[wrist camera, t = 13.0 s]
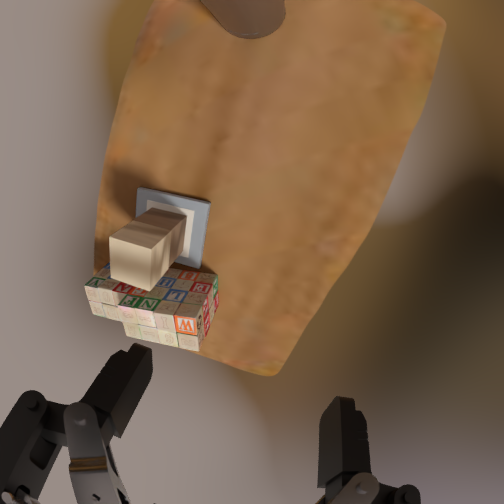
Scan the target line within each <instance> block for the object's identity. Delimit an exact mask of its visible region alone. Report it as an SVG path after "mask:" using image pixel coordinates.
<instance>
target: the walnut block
mask: <svg viewBox="0 0 504 504" xmlns="http://www.w3.org/2000/svg"><path fill="white" fill-rule="evenodd" d="M134 221H138V222H142V223H145V224H149V225H153V226H157V227H161V228H165V229H168V230H172V232H171V243H170V254H169V267H170V266H171V265H172V263H173V262H174V261H175V260H176V259H177V257H178V256H179V255H180V254H181V253H182V251H183V247H184V238H185V229H186V221H187V216H186V215H182V214H178V213H174V212H170V211H165V210H161V209H157V208H153V207H152V208H150V209H149V210H147V211H146V212H144V213H143V214H141V215H140V216H138V217H137V218H135V219H134ZM169 267H168V268H169Z"/></svg>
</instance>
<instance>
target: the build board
mask: <svg viewBox="0 0 504 504" xmlns="http://www.w3.org/2000/svg"><path fill="white" fill-rule="evenodd" d="M210 204H211V202H206V201H202V200H198V199H193V198H189V197H185V196H180V195H176V194H171V193H167V192H162V191H157V190H153V189H148V188H143V187H139V188H137V201H136V218H137V217H138V216H140V215H141V214H143V213H144V212H146V211H147V210H149V209H150V208H152V207H153V208H157V209H161V210H165V211H170V212H174V213H178V214H182V215H186V216H187V221H186V229H185V238H184V247H183V251H182V253H181V254H180V255H179V256H178V257H177V259H176V260H175V261H174V262H176V263H180V264H183V265H187V266H190V267H194V268H198V269H199V268H200V267H201V262H202V255H203V248H204V241H205V235H206V228H207V222H208V216H209V210H210Z"/></svg>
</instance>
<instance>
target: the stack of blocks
mask: <svg viewBox="0 0 504 504" xmlns="http://www.w3.org/2000/svg"><path fill="white" fill-rule="evenodd" d="M84 286H85V290H86V293H87V297H88V300H89V302H90V306H91V309H92V312H93V314H94V315H98V316H102V317H106V318H109V319H113V320H118V321H121V322H123V325H124V328H125V332H126V335H127V336H129V337H133V338H138V339H143V340H147V341H152V342H156V343H161V344H165V345H170V346H175V347H180V348H183V349H189V350H194V351H199V350H200V347H201V345H202V342H203V340H204V338H205V337H206V335H207V332H208V330H209V327H210V324H211V321H212V319H213V316H214V314H215V312H216V309H217V307H218V304H219V303H218V275H216V274H208V273H200V272H196V271H188V270H180V269H173V268H168V270H167V271H166V272H165V274H164V275H163V276H162V277H161V279H160V280H159V281H158V282H157V284H156V285H155V286H154V287H153V288H152V290H151V291H147V290H144V289H141V288H138V287H135V286H132V285H129V284H127V283H124V282H121V281H118V280H115V279H113V278H111V271H110V262H109V263H108V264H107V265H106V266H104V267H103V268H102V269H101V270H100V271H99V272H97V273H96V274H95V275H94V277H93V278H92V279H91V280H90V281H88V282H87V283H86V284H85V285H84Z"/></svg>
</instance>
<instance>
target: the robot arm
mask: <svg viewBox="0 0 504 504" xmlns="http://www.w3.org/2000/svg"><path fill="white" fill-rule="evenodd" d="M200 1H201V2H202V3H203V4H204V5H205V6H206V7H207V8H208V10H209V11H210V12H211V13H212V14H213V15H214V16H215V18H216V19H217V20H218V21H219V22H220V24H221V25H222V26H223V27H224V28H225V29H226V30H227V31H228V32H229V33H231V34H232V35H235V36H237V37H240V38H246V39H254V38H260V37H264V36H267V35H269V34H271V33H272V32H274V31H275V30H277V29H278V28H279V26H280V25H281V24H282V22H283V20H284V18H285V4H284V0H200ZM152 372H153V364H152V349H151V348H148V347H145V346H143V345H140V344H137V343H134V344H133V345H132V346H131V348H130V349H129V351H128V352H125V351H123V350H120V351H118V352H116V353H115V354H113V355H112V356H111V357H110V358H109V360H108V361H107V363H106V364H105V366H104V367H103V368H102V370H101V371H100V373H99V374H98V376H97V377H96V379H95V380H94V382H93V383H92V385H91V386H90V388H89V389H88V391H87V392H86V394H85V395H84V397H83V398H82V399H81V400H80V401H79V402H75V403H72V404H70V405H64V404H58V403H55V402H51V401H47V400H46V399H45V398H44V396H43V395H42V394H41V393H40V392H38V391H34V390H30V391H26V392H24V393H23V394H22V395H21V396H20V398H19V399H18V401H17V402H16V404H15V405H14V407H13V408H12V410H11V412H10V413H9V415H8V416H7V418H6V420H5V421H4V423H3V424H2V426H1V428H0V504H40V503H39V502H38V497H39V495H40V493H41V491H42V488H43V486H44V484H45V482H46V479H47V477H48V475H49V473H50V471H51V468H52V466H53V464H54V462H55V460H56V458H57V456H58V454H59V452H60V450H61V448H62V446H66V447H68V450H69V455H70V460H71V463H70V464H69V473H70V478H71V482H72V485H73V489H74V493H75V496H76V500H77V503H78V504H131V503H130V500H129V497H128V495H127V492H126V490H125V488H124V485H123V483H122V481H121V479H120V476H119V473H118V470H117V467H116V463H115V460H114V457H113V454H112V450H111V446H110V440H111V439H112V437H113V435H114V436H116V437H118V438H121V436H122V434H123V432H124V430H125V428H126V426H127V424H128V422H129V420H130V418H131V417H132V415H133V413H134V411H135V409H136V407H137V405H138V403H139V401H140V399H141V397H142V395H143V393H144V391H145V390H146V388H147V386H148V384H149V382H150V380H151V377H152ZM318 463H319V464H318V485H317V488H326V489H325V495H323V496H322V497H321V498H320V499H319V500H318V501H317V503H315V504H421V499H420V492H419V490H418V489H417V488H416V487H415V486H413V485H408V484H407V485H403V486H401V487H399V488H395V487H392V486H388V485H384V484H381V483H379V482H378V480H377V478H376V477H375V476H374V475H372V472H371V466H370V454H369V442H368V433H367V423H366V420H365V417H364V415H363V414H362V412H361V411H356V410H355V401H354V399H353V398H347V397H340V396H336V397H335V398H334V399H333V401H332V402H331V403H330V405H329V406H328V408H327V409H326V410H325V411H324V413H323V414H322V416H321V419H320V424H319V462H318Z"/></svg>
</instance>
